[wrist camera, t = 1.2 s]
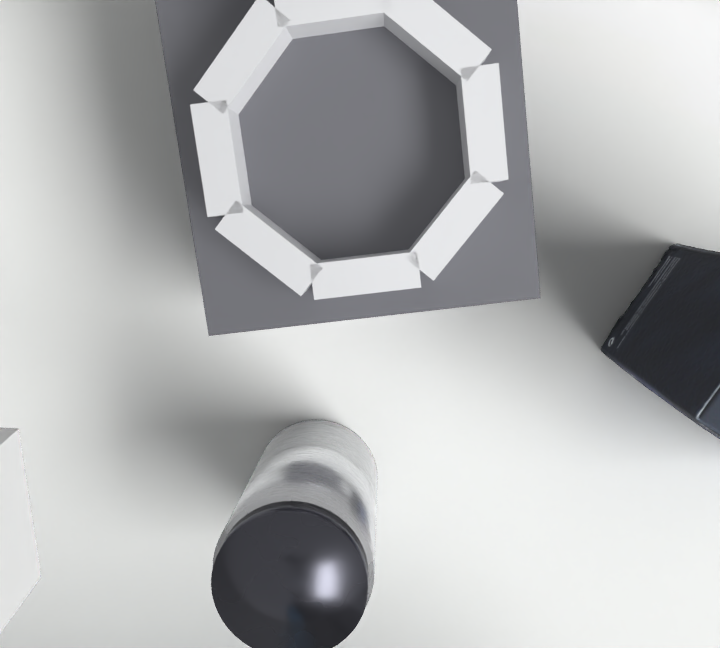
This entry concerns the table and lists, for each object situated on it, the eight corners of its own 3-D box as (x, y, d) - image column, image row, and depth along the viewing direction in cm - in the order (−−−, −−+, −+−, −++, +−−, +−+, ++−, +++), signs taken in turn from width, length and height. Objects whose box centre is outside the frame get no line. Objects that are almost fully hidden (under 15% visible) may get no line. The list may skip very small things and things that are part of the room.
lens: (384, 527, 34) (382, 655, 24) (267, 538, 35) (219, 669, 25) (370, 413, 33) (362, 499, 23) (250, 426, 34) (193, 516, 24)
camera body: (502, 276, 32) (562, 310, 21) (252, 305, 33) (184, 352, 22) (470, -90, 29) (519, -267, 18) (199, -50, 30) (92, -197, 19)
